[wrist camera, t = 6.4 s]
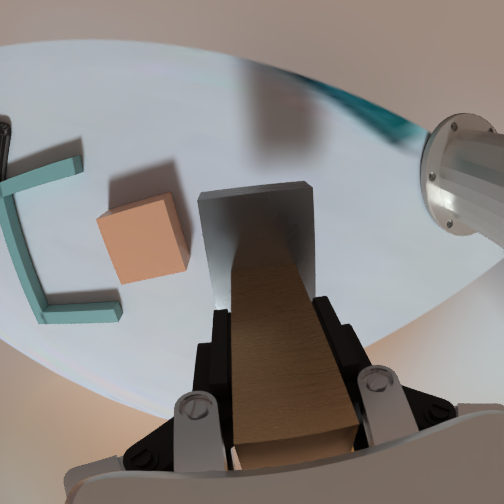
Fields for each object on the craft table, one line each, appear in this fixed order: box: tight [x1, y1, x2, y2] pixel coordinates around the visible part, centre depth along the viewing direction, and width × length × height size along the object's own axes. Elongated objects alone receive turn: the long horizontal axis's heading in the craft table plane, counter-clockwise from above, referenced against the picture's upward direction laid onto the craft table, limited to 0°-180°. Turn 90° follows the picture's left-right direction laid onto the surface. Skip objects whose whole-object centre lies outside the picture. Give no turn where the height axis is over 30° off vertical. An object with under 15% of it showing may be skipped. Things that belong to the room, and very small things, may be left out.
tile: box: [96, 192, 190, 285], centre depth 24 cm, size 6×6×3 cm
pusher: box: [197, 181, 359, 470], centre depth 12 cm, size 10×5×11 cm, turn 6°
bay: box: [0, 155, 123, 324], centre depth 25 cm, size 11×16×2 cm
